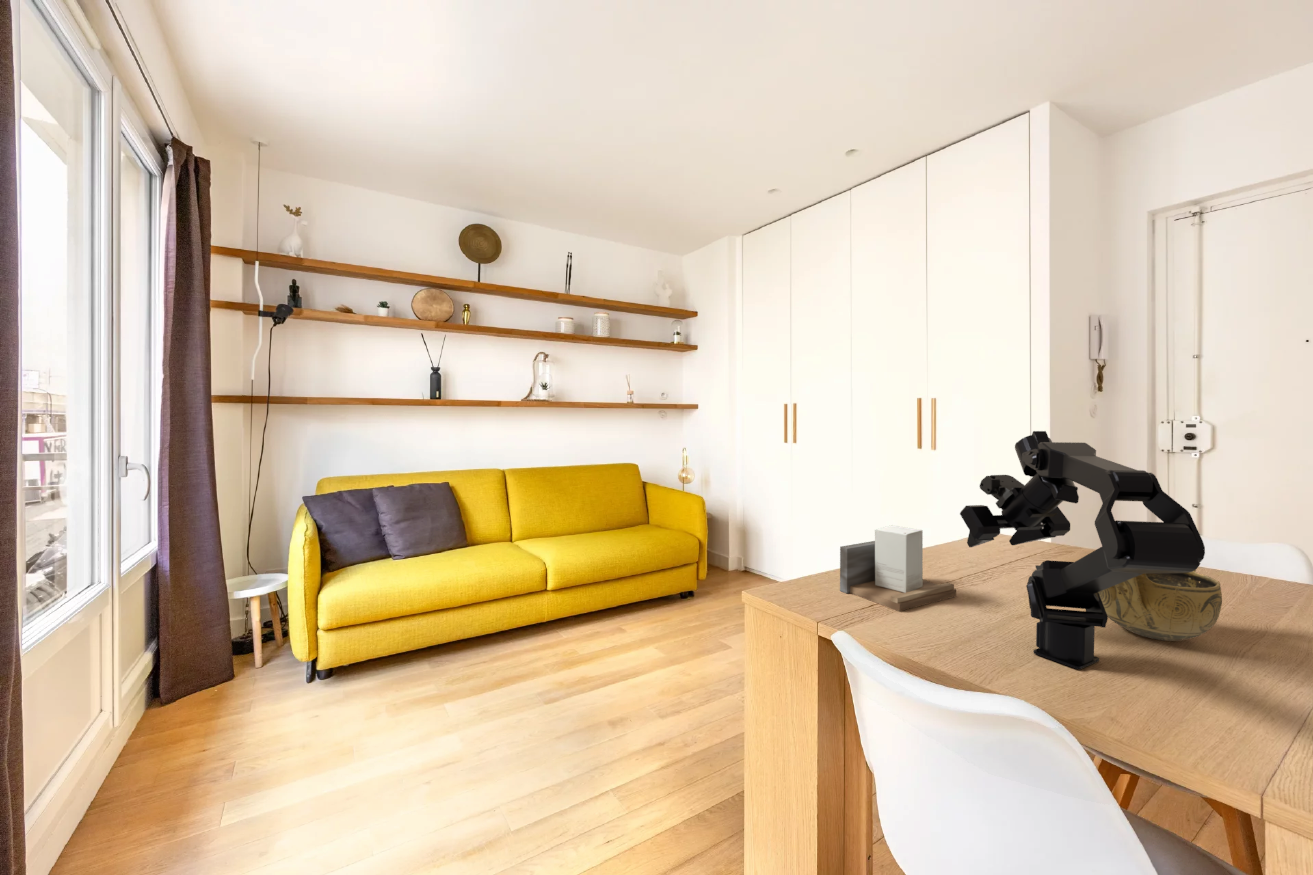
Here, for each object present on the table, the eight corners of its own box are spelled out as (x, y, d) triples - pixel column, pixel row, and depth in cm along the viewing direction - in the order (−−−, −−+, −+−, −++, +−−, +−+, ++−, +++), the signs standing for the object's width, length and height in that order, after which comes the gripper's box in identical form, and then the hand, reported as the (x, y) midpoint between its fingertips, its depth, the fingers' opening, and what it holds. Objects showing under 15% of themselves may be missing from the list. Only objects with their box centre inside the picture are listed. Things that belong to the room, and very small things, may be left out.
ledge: (959, 595, 113) (959, 549, 112) (896, 612, 104) (896, 562, 103) (900, 577, 126) (900, 536, 125) (839, 590, 117) (840, 546, 116)
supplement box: (923, 587, 114) (924, 529, 114) (905, 594, 110) (906, 534, 109) (891, 578, 120) (891, 524, 120) (873, 585, 116) (873, 528, 115)
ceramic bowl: (1181, 666, 81) (1184, 570, 80) (1059, 626, 96) (1061, 545, 96) (1247, 640, 90) (1250, 553, 89) (1126, 607, 105) (1128, 533, 105)
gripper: (1057, 460, 98) (1009, 509, 110) (967, 462, 96) (928, 512, 107) (1097, 509, 91) (1041, 555, 102) (1001, 513, 88) (954, 560, 100)
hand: (990, 544), depth 103 cm, fingers open, 9 cm apart
